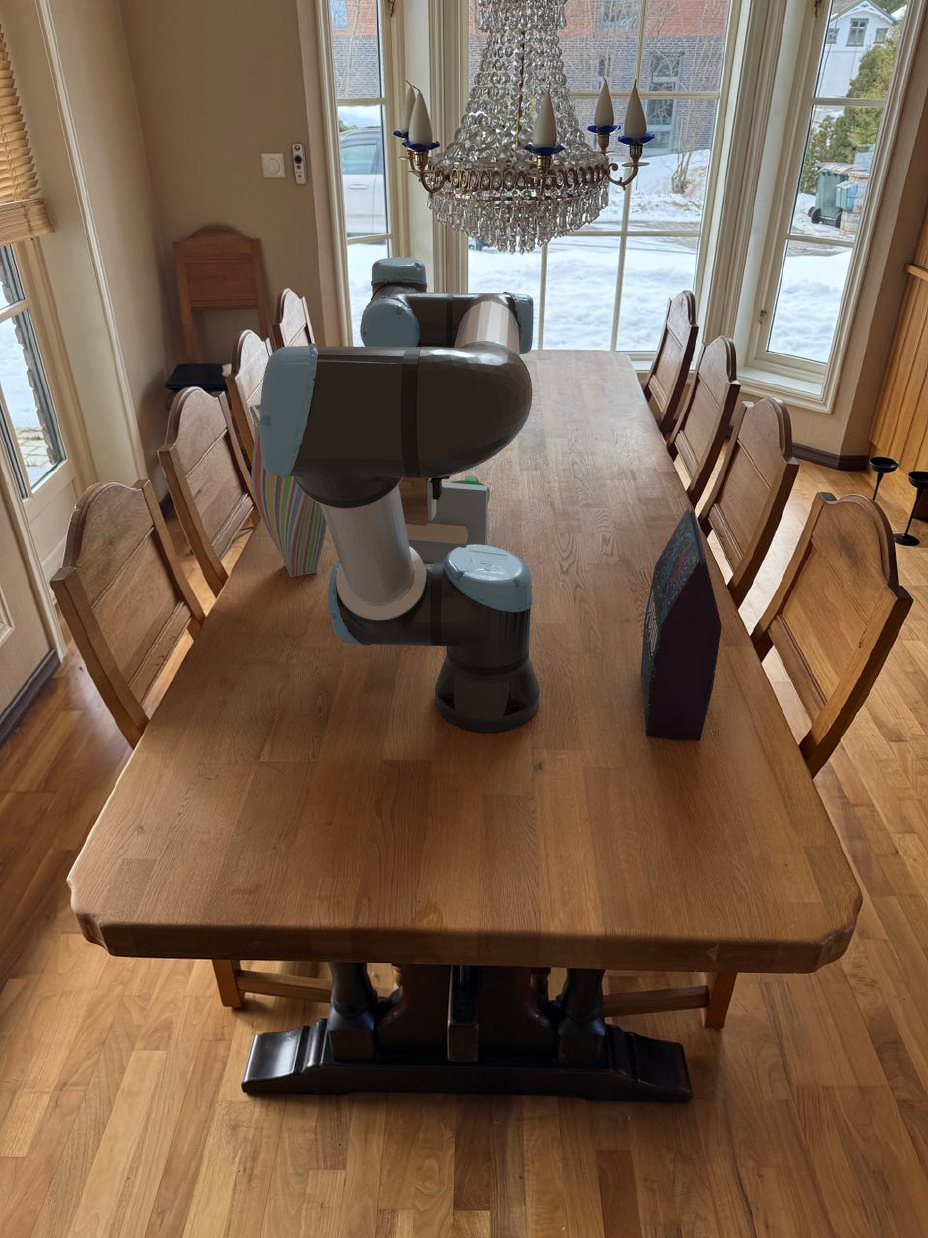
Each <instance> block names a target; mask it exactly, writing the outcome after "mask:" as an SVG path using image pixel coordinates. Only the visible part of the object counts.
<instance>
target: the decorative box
mask: <svg viewBox="0 0 928 1238" xmlns="http://www.w3.org/2000/svg"><path fill="white" fill-rule="evenodd" d="M700 532H701V531H700V529H699V524H698V520H697V515H696V511H695V507H693V508H692V509H691V511H690V509H689V507H687V508H686V510H685V512H684V513H683V515H682V517H681V518H680V520H679V522H678V524H677V526H676V528H675V529H674V531H673V533H672V535H671V536H670V538H669V540H668V542H667V543H666V546H665V547H664V549H663V551H662V552H661V555H660V556H659V558H658V559H657V561H656V563H655V565H654V569H653V574H652V578H651V585H650V589H649V593H648V594H649V595H648V599H647V605H646V610H645V616H644V620H643V621H644V622H643V631H642V632H643V633H642V645H641V646H642V648H641V662H640V680H641V692H642V701H643V702H642V703H643V715H644V726H645V736H646V737H651V738H659V739H666V740H672V741H674V740H675V741H680V740H681V741H682V740H683V741H684V740H685V741H686V740H690V741H691V739H696V740H695V741H700V740H701V738H702V735H703V730H704V727H705V722H706V719H707V713H708V709H709V706H710V701H711V698H712V693H713V689H714V684H715V677H716V671H717V664H718V656H719V649H720V642H721V634H722V627H723V626H722V625H723V624H722V622H721V621H722V620H721V617H720V613H719V612H720V611H719V608H718V604H717V599H716V596H715V591H714V586H713V583H712V578H711V574H710V570H709V566H708V561H707V558H706V552H705V550H704V549H705V548H704V545H703V539H702V537H701V533H700Z"/></svg>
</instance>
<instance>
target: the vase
mask: <svg viewBox="0 0 928 1238" xmlns="http://www.w3.org/2000/svg"><path fill="white" fill-rule="evenodd" d="M248 409H249V411H250V414H251V418H252V422H253V428H254V429H253V430H254V431H253V432H254V443H253V453H252V463H251V487H252V493H253V497H254V501H255V502H254V503H255V504H256V508H257V511H258V513H259V515H260V516H259V517H260V518H261V520H262V522H263V524H264V527H265V529H266V530H267V533H268V534H269V536H270V538H271V540H272V541H273V543H274V545H275V547H276V549H277V551H278V552H279V554H280V556H281V558H282V560H283V563H284V565H285V568H286V570H287V573H288V575H289V577H290V578H295V577H300V576H303V575H304V576H305V575H311V574H316V573H318V570H319V563H320V559H321V555H322V551H323V547H324V542H325V538H326V532H327V528H328V526H327V523H326V520H325V517H324V514H323V511H322V509H321V506H320V504H319V503H317V502H315V501H313V500H312V499H310V498H309V497H308V496H307V495H306V494H305V493H304V492H303V491H302V490H301V489H300V487H299V486H298V484H297V482H296V480H295V478H294V476H288V477H287V478H282V477H281V476H277V475H271V474H269V473H268V472H267V471H266V470H265V468H264V466H263V462H262V457H261V449H260V403H258V404H257V403H256V404H250V406H248Z"/></svg>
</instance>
